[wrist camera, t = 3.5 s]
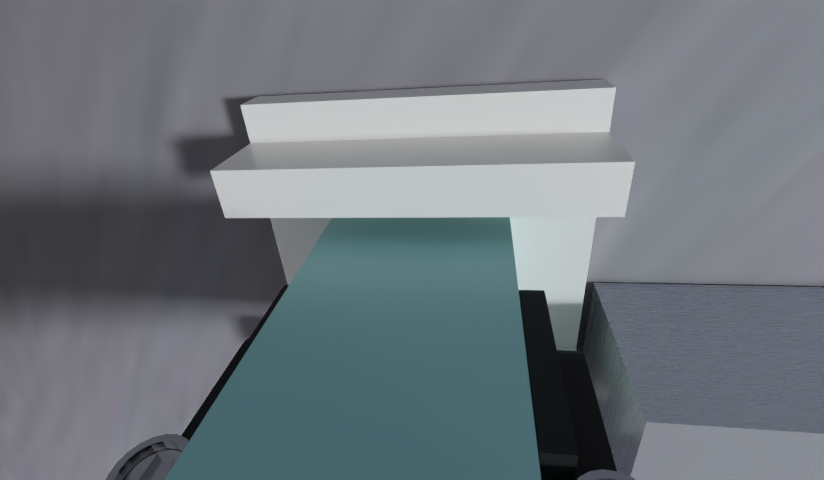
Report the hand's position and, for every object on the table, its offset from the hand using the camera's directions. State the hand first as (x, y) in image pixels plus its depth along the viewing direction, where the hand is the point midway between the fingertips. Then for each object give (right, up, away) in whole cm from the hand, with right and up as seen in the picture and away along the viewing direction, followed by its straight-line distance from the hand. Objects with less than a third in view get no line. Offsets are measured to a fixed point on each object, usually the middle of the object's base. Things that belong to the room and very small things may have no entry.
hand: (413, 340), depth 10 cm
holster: (+1, +2, +3) cm, 4 cm away
